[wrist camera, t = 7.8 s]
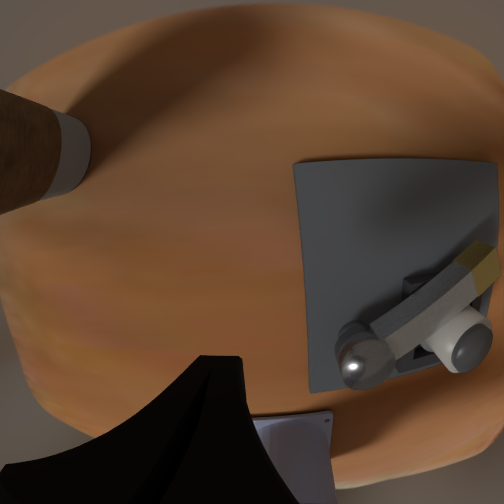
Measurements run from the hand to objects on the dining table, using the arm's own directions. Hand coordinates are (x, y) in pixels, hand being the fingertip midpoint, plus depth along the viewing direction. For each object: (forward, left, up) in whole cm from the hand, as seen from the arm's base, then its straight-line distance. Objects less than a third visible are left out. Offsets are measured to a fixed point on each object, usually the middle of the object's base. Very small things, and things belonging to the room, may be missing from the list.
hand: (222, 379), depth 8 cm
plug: (-4, -14, -9) cm, 17 cm away
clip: (-2, -11, -7) cm, 13 cm away
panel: (-1, -12, -9) cm, 15 cm away
